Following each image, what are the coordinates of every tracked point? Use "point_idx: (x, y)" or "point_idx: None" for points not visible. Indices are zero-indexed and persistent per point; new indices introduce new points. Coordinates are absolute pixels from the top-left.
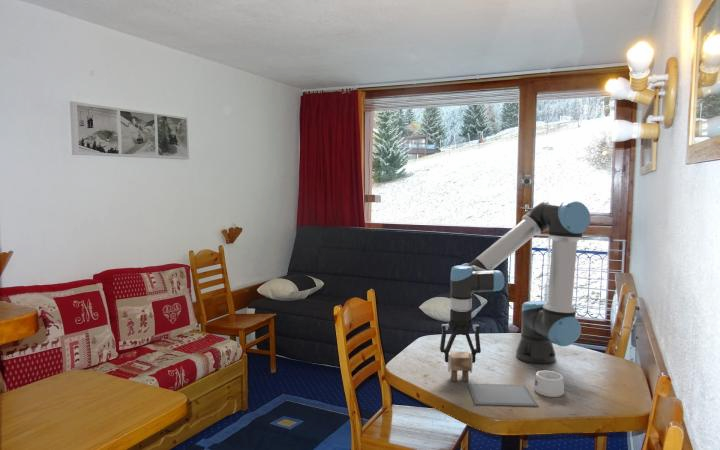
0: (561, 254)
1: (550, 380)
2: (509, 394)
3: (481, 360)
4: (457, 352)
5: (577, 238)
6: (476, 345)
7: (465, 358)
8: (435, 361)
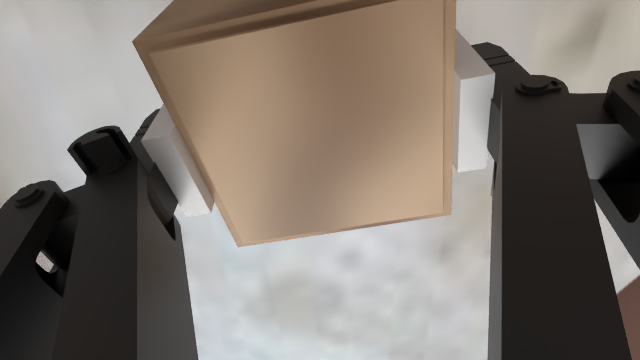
0: None
1: None
2: None
3: (226, 303)
4: (354, 201)
5: None
6: (39, 283)
7: (222, 22)
8: (464, 253)
